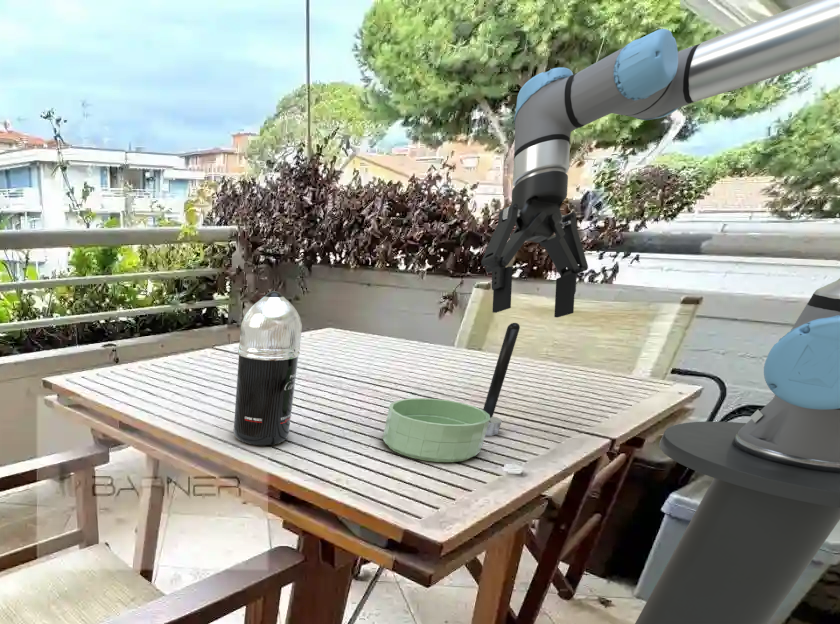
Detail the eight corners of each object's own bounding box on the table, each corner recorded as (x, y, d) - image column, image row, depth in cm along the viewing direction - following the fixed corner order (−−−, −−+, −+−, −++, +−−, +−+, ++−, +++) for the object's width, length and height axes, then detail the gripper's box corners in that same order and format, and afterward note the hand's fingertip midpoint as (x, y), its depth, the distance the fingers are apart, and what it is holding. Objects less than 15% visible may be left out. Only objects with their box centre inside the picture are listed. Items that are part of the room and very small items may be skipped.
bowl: (491, 446, 95) (502, 410, 92) (460, 471, 86) (471, 432, 82) (403, 427, 104) (410, 393, 101) (366, 448, 95) (374, 411, 92)
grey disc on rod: (501, 431, 102) (536, 322, 92) (492, 437, 99) (527, 326, 89) (472, 425, 105) (503, 319, 95) (463, 431, 102) (494, 323, 92)
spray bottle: (223, 441, 99) (232, 293, 87) (244, 425, 107) (255, 286, 94) (278, 452, 94) (295, 296, 82) (296, 434, 102) (315, 289, 90)
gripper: (573, 200, 97) (566, 322, 99) (459, 183, 91) (455, 314, 93) (619, 178, 90) (611, 310, 92) (500, 157, 83) (494, 300, 85)
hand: (533, 313), depth 92 cm, fingers open, 13 cm apart
